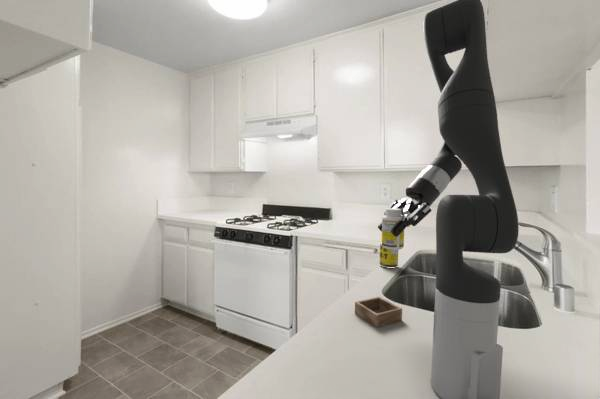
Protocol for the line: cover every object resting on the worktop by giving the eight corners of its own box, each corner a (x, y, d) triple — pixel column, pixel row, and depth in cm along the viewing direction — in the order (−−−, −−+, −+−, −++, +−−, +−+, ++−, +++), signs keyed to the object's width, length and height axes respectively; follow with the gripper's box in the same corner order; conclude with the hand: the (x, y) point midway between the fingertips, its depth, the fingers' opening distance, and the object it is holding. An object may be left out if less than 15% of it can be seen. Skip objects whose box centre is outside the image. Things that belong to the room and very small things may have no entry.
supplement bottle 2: (375, 264, 123) (377, 234, 122) (390, 263, 125) (391, 233, 125) (386, 269, 116) (387, 237, 115) (401, 268, 119) (402, 237, 118)
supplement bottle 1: (397, 245, 80) (399, 207, 79) (407, 250, 74) (408, 210, 74) (378, 245, 79) (379, 207, 79) (386, 250, 74) (387, 210, 73)
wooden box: (401, 320, 74) (402, 308, 74) (376, 327, 71) (376, 315, 70) (378, 307, 82) (379, 296, 82) (354, 312, 78) (355, 302, 78)
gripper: (403, 176, 84) (364, 218, 82) (439, 176, 71) (393, 226, 68) (418, 194, 86) (380, 236, 84) (456, 197, 72) (412, 248, 70)
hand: (386, 231), depth 76 cm, fingers closed on supplement bottle 1, 5 cm apart
